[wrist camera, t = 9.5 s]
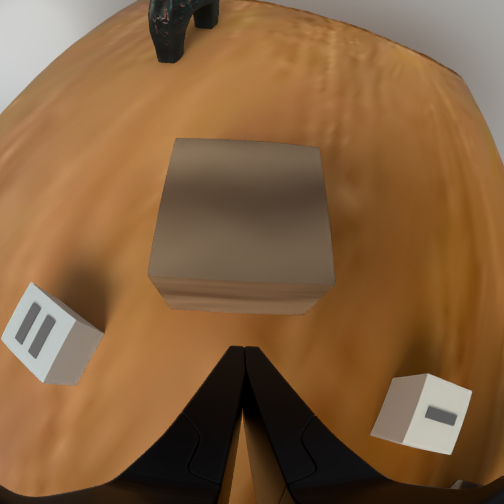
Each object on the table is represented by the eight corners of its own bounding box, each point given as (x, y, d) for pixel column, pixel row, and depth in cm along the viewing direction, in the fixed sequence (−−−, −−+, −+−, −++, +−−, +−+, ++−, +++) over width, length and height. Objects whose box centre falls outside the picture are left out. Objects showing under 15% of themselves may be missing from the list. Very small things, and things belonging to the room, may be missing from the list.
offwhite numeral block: (414, 447, 18) (452, 455, 13) (369, 434, 19) (403, 443, 14) (434, 394, 20) (473, 391, 16) (392, 377, 21) (429, 373, 16)
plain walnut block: (303, 315, 23) (335, 284, 16) (171, 309, 22) (147, 275, 15) (297, 204, 27) (318, 147, 20) (186, 198, 26) (175, 138, 19)
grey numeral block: (76, 385, 19) (41, 382, 14) (36, 349, 19) (-1, 338, 15) (104, 333, 21) (75, 319, 16) (62, 301, 21) (30, 281, 17)
